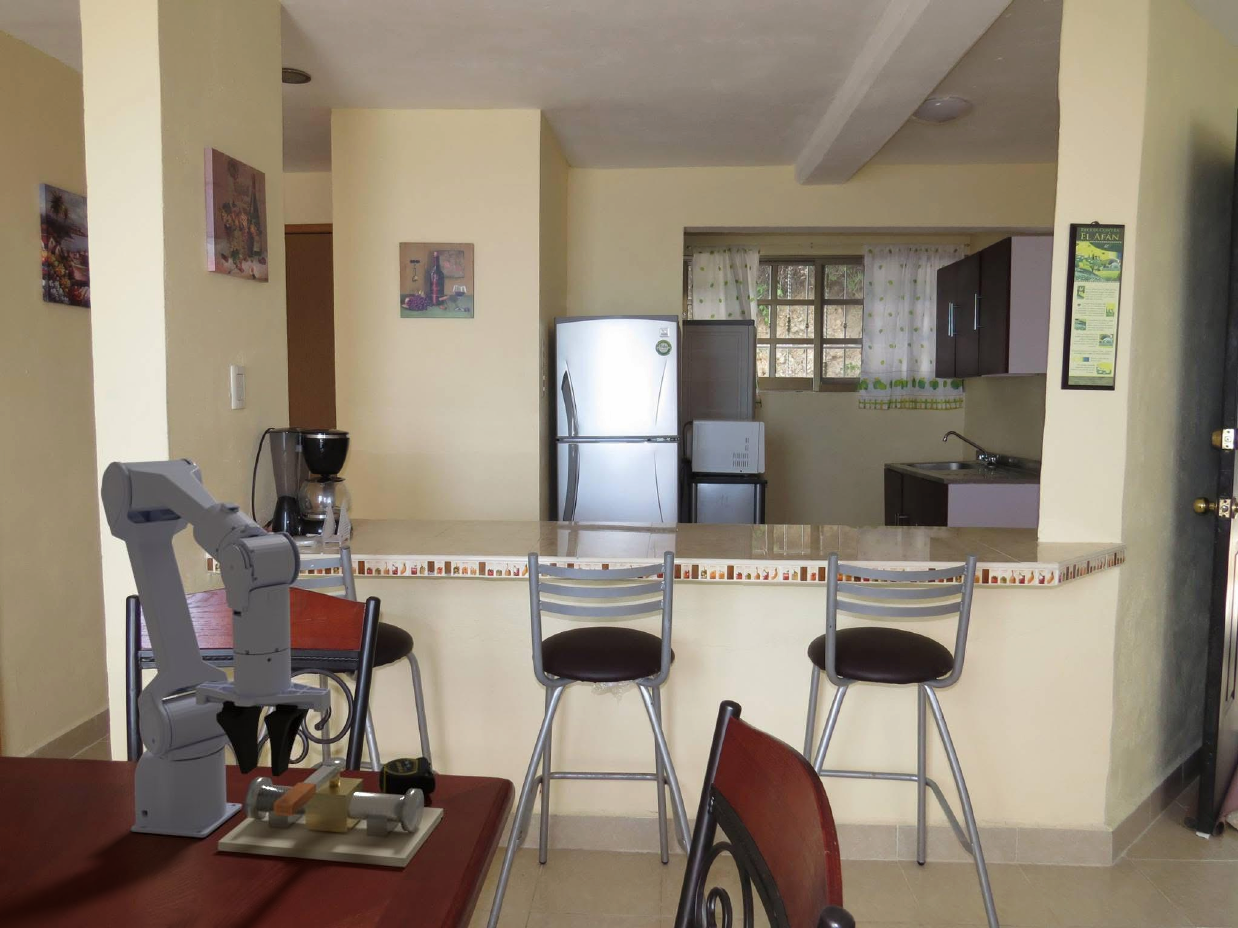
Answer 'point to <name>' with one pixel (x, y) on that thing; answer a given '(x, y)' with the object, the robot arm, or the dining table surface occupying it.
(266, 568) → the robot arm
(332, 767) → the valve lever
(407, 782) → the tape measure
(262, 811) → the ball valve
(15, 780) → the dining table surface
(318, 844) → the board
